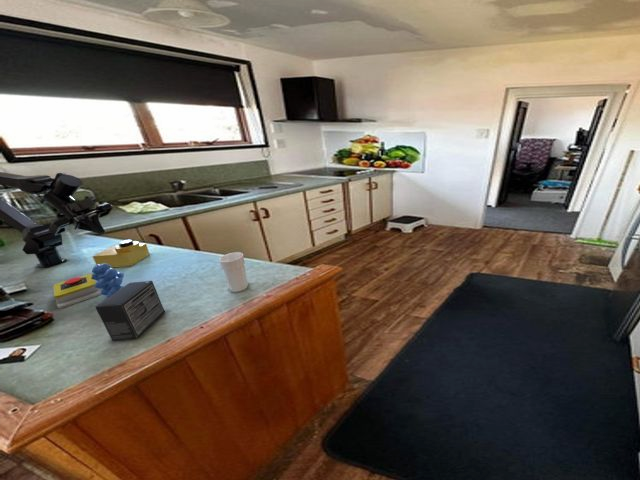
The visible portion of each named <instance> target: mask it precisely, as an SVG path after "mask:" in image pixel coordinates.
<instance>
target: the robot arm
mask: <svg viewBox="0 0 640 480" xmlns="http://www.w3.org/2000/svg"><path fill="white" fill-rule="evenodd" d="M82 185H83V181H82V179H81V178H80V177H77V176H74V175H73V174H67V173H65V172H57V173H56V174H55V177H54V178H53V177H52V176H50V175H48V174H47V175H46V174H45V175H44V174H43V175H42V174H41V175H39V174H37V175H22V174H15V173H10V172H3V171H0V186H5V187H10V188H17V189H19V190H20V191H21V192H22V193H27V194H30V195H37V194H42V193H44V194H43V195H40V196H39V199H40V200H39V203H40V204H41V205H44V204H49V205H50V206H51V207H53V208H54V209H56V210H57V211H58V212H57V214H58V215H59V216H61V215H64V216H65V217H61V218H59V219H56V220H53V221H52V222H51V224H50V223H43V224H38V223H37V222H36V221H34V220H32V219H31V218H30V217H28V216H26V214H24V213H23V212H21V211H20V210H18V209H17V208H16V207H14V206H13V205H12V204H10V203H9V202H6V201H5V200H4V199H3V198H2V197H0V219H1V220H2V221H4V222H5V223H6V224H8V225H9V226H11V227H12V228H14V229H15V230H17V231H18V232H19V233H20V234H21V237H22V238H21V239H22V240H23V242H24V243H25V244H24V245H23V248H22V252H23V253H24V254H25V255H35V257H36V259H37V260H38V263H37V264H36V267H40V268H43V269H46V268H49V267H52V266H56V265H58V264H61V263H65V262H67V261H68V259H67V258H63V257H62V256H61V254H60V252H59V249H58V248H57V247H60V246H63V244H64V243H63V235H62V234H63V233H65V232H66V227H69V226H74V230H82V231H85V232H86V231H87V232H90V233H95V234H99V235H101V236H102V235H106V231H105V229H104V227H103V225H102V224H101V222H100V219H102V218H104V217H106V216H108V215H110V213H111V212H112V211H113V208H114V205H112V204H111V203H109V202H104V203H102V204H99V205H97V203H99V198H97V197H96V196H95V195H93V194H88V195H86V196H84V199H74V197H73V196H74V195H75V194H76V193H77V192H78V190H79V189H80V188H81V186H82ZM94 206H96V207H95V209H94V210H92V209H93V207H94Z"/></svg>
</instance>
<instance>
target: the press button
mask: <svg viewBox="0 0 640 480" xmlns="http://www.w3.org/2000/svg"><path fill="white" fill-rule="evenodd" d="M133 241H134V240H133V239H125V240H122V241H120V242H118V245H120V247H127V246H130V245H133V244H134V243H133Z"/></svg>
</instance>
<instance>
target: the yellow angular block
mask: <svg viewBox="0 0 640 480" xmlns="http://www.w3.org/2000/svg"><path fill="white" fill-rule="evenodd" d="M132 241H133V243H134V244H133V245H130V246H127V247H120V245H119V244H115V245H112V246H110V247H108V248H106V249H104V250H102V251H101V252H100V251H99V252H98V253H96V254H94V255H92V259H93V260H94V263H95V265H100V264H108V265H111V268H123V267H133V266H134V265H135V264H137V263H139V262H140V261H142V260H143V259H145V258H146V257H148V256H151V253H150V250H149V248H148V245H147V243H144V242H143V243H140V242H139V241H137V240H132Z"/></svg>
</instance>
